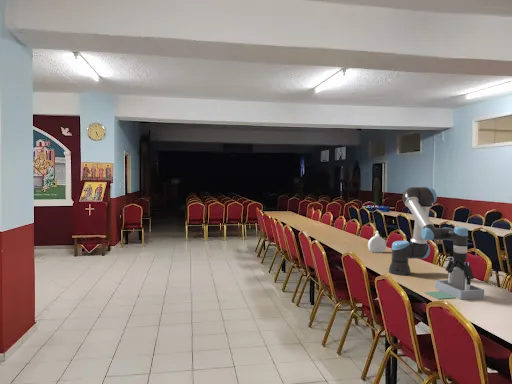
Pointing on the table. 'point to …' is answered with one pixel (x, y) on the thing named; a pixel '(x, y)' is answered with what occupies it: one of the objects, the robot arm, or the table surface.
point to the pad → (440, 295)
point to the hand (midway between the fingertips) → (458, 286)
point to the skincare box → (458, 279)
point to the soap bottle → (377, 244)
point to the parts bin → (457, 293)
